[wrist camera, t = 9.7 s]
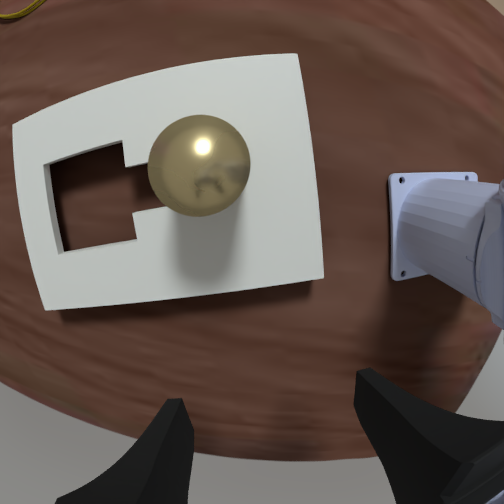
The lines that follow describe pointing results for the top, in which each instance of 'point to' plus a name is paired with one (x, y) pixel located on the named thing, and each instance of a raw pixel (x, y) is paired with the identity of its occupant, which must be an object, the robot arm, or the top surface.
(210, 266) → the keyhole plate
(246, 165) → the gold cylindrical piece
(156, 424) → the robot arm
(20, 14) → the yellow coiled cable
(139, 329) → the top surface
